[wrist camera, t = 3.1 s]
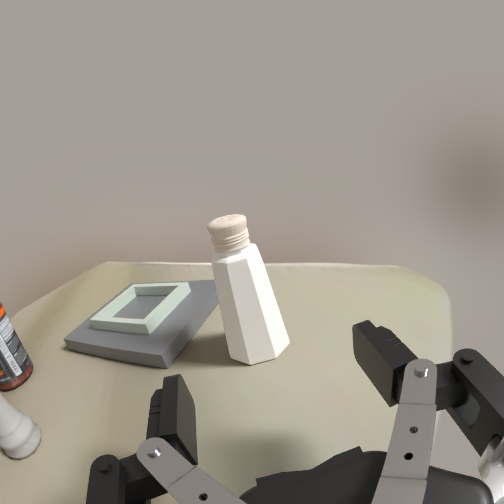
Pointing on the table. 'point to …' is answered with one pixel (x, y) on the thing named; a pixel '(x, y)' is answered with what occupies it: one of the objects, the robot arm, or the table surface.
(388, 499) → the robot arm
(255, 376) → the table surface
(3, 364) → the supplement bottle
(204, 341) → the table surface
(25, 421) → the rook chess piece
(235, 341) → the pepper shaker
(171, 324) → the baseplate
